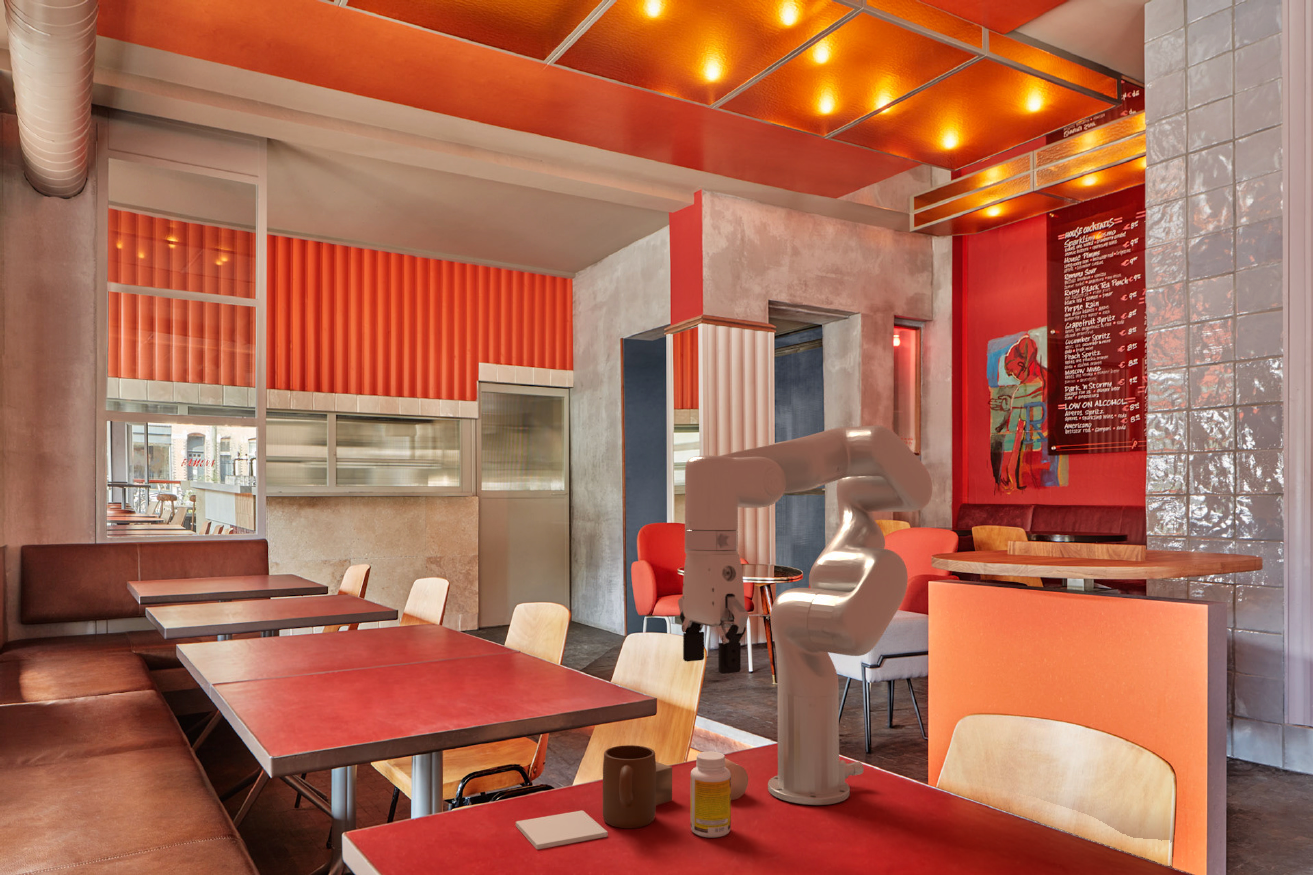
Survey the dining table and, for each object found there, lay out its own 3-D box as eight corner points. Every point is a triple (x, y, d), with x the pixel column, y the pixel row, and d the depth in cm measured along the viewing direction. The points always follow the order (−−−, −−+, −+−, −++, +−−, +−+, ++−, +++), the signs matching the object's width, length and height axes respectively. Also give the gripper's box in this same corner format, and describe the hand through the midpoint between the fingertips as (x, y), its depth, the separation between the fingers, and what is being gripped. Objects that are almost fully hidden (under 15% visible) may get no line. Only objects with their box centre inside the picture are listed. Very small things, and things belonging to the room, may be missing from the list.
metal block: (650, 792, 132) (650, 759, 133) (672, 800, 128) (672, 767, 129) (625, 799, 129) (626, 765, 129) (647, 808, 125) (647, 773, 125)
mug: (653, 843, 112) (653, 770, 113) (596, 841, 112) (597, 769, 113) (656, 810, 124) (657, 744, 125) (605, 809, 124) (605, 743, 125)
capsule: (712, 792, 135) (730, 764, 137) (735, 806, 129) (754, 777, 131) (690, 774, 134) (709, 746, 136) (713, 787, 128) (732, 757, 129)
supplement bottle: (737, 836, 115) (737, 758, 115) (699, 841, 113) (700, 762, 113) (720, 821, 120) (720, 747, 121) (684, 826, 118) (684, 751, 119)
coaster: (582, 814, 122) (582, 810, 122) (607, 836, 114) (607, 831, 114) (515, 825, 118) (515, 821, 118) (536, 849, 110) (537, 844, 110)
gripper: (768, 545, 113) (768, 675, 112) (703, 540, 129) (703, 654, 127) (720, 546, 110) (720, 680, 109) (659, 541, 125) (658, 658, 124)
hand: (710, 666), depth 118 cm, fingers open, 9 cm apart
